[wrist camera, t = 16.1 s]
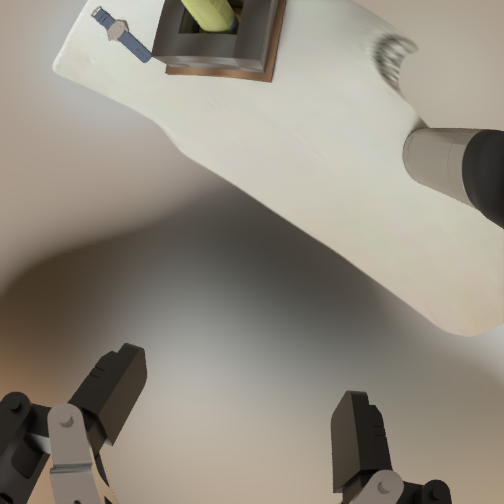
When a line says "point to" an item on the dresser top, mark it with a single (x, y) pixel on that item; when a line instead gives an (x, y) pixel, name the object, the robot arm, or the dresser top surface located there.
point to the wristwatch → (121, 34)
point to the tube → (213, 16)
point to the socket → (220, 42)
